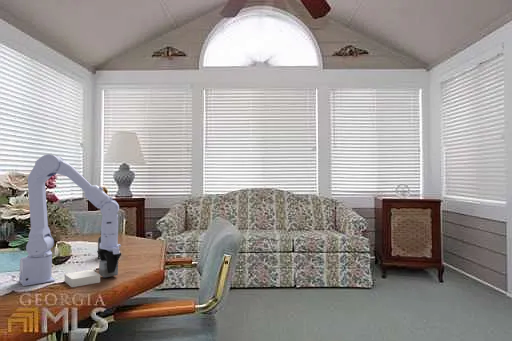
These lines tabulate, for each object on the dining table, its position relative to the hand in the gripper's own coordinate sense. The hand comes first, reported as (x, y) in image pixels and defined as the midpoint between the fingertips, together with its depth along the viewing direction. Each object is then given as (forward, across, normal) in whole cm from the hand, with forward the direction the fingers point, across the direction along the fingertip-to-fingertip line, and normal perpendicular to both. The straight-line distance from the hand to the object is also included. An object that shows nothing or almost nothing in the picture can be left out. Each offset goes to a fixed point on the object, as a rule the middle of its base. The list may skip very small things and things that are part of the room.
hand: (108, 270), depth 129 cm
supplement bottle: (+2, +34, -11) cm, 36 cm away
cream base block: (+3, 0, +9) cm, 9 cm away
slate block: (+1, 0, 0) cm, 1 cm away
